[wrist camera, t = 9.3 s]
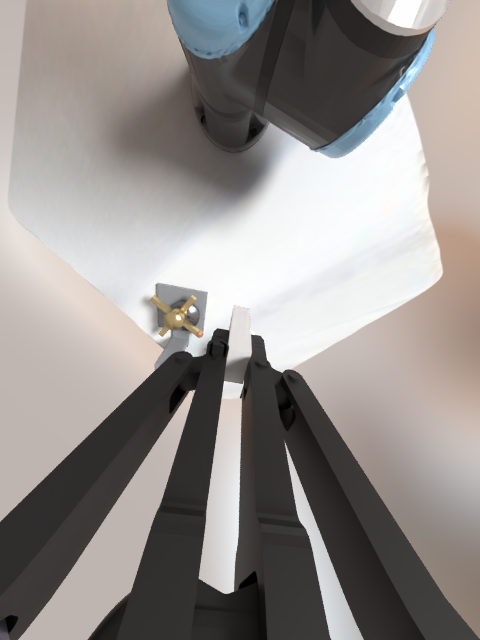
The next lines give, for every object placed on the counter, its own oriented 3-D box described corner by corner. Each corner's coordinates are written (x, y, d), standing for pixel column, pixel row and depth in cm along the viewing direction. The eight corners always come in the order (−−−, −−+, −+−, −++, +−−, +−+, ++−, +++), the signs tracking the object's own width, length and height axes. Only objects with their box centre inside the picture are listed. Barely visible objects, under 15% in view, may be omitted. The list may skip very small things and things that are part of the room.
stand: (158, 282, 51) (130, 301, 38) (207, 292, 52) (195, 313, 39) (160, 341, 60) (138, 371, 48) (201, 348, 61) (190, 379, 49)
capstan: (143, 311, 54) (131, 322, 48) (173, 273, 48) (163, 279, 42) (189, 344, 59) (183, 357, 53) (221, 313, 53) (218, 324, 47)
